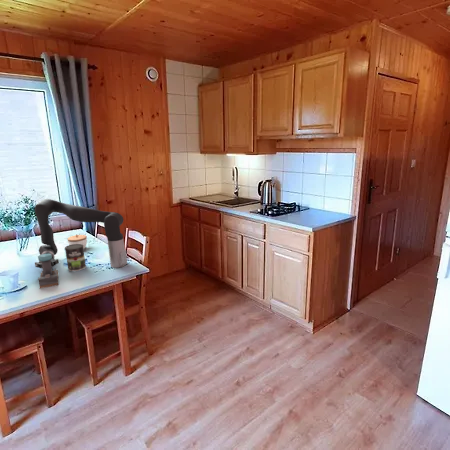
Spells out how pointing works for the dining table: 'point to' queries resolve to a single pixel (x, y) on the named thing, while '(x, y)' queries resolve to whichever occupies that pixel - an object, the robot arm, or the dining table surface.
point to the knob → (46, 263)
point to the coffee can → (75, 257)
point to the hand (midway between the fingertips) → (46, 267)
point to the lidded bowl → (78, 240)
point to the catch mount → (48, 279)
